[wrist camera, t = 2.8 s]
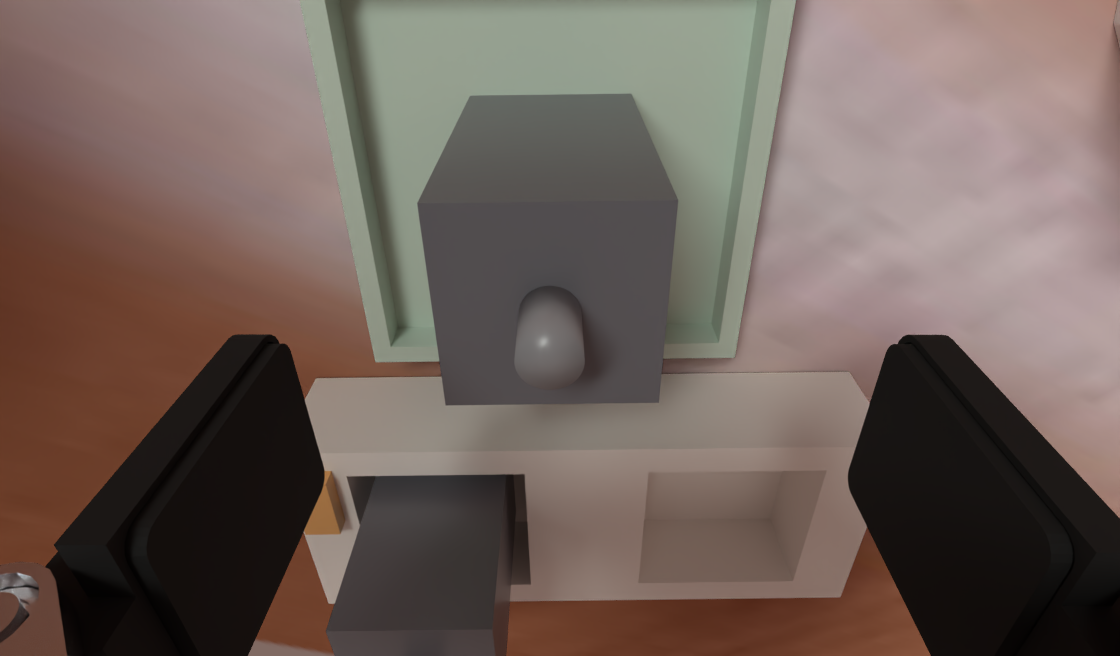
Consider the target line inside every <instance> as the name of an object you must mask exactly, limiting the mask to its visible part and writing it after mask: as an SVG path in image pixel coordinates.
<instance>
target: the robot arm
mask: <svg viewBox="0 0 1120 656" xmlns="http://www.w3.org/2000/svg"><path fill="white" fill-rule="evenodd" d="M324 479H325V471H324V466H323V462H322V459H321V455H320V452H319V448H318V445H317V441H316V438H315V434H314V431H313V427H312V424H311V420H310V417H309V413H308V410H307V407H306V403H305V400H304V396H303V393H302V389H301V386H300V382H299V379H298V375H297V372H296V368H295V365H294V361H293V358H292V354H291V351H290V349H289V347H288V346H287V345H286V344H279V341H278V340H277V338H276V337H275V336H273V335H233V336H231V337H230V338H229V339H228V340H227V341H226V342H225V344H224V345H223V346H222V347H221V348H220V350H219V351H218V352H217V353H216V354H215V355H214V357H213V358H212V359H211V360H210V361H209V363H208V364H207V365H206V366H205V367H204V368H203V370H202V371H201V372H200V373H199V374H198V375H197V377H196V378H195V379H194V380H193V381H192V383H191V384H190V385H189V386H188V387H187V388H186V390H185V391H184V392H183V393H182V394H181V396H180V397H179V398H178V399H177V400H176V401H175V403H174V404H173V405H172V406H171V407H170V409H169V410H168V411H167V412H166V413H165V414H164V416H163V417H162V418H161V419H160V420H159V421H158V423H157V424H156V425H155V426H154V427H153V429H152V430H151V431H150V432H149V433H148V434H147V436H146V437H145V438H144V439H143V440H142V442H141V443H140V444H139V445H138V446H137V447H136V449H135V450H134V451H133V452H132V453H131V455H130V456H129V457H128V458H127V459H126V460H125V462H124V463H123V464H122V465H121V466H120V467H119V469H118V470H117V471H116V472H115V473H114V475H113V476H112V477H111V478H110V479H109V480H108V482H107V483H106V484H105V485H104V486H103V488H102V489H101V490H100V491H99V492H98V493H97V495H96V496H95V497H94V498H93V499H92V501H91V502H90V503H89V504H88V505H87V506H86V508H85V509H84V510H83V511H82V512H81V513H80V515H79V516H78V517H77V518H76V519H75V521H74V522H73V523H72V524H71V525H70V526H69V528H68V529H67V530H66V531H65V532H64V534H63V535H62V536H61V537H60V538H59V539H58V541H57V542H56V543H55V544H54V546H55V547H56V549H57V550H58V552H57V553H56V555H55V556H54V557H53V558H52V559H51V561H50V562H49V563H48V564H47V565H46V567H44V566H42V565H40V564H38V563H29V562H15V563H9V564H3V565H0V656H248V654H249V652H250V650H251V647H252V645H253V643H254V641H255V639H256V636H257V634H258V632H259V630H260V627H261V625H262V623H263V621H264V619H265V616H266V614H267V612H268V610H269V607H270V605H271V603H272V601H273V598H274V596H275V594H276V592H277V590H278V587H279V585H280V583H281V581H282V578H283V576H284V574H285V572H286V570H287V567H288V565H289V563H290V561H291V558H292V556H293V554H294V552H295V550H296V547H297V545H298V543H299V541H300V538H301V536H302V534H303V532H304V530H305V527H306V525H307V523H308V521H309V518H310V516H311V514H312V512H313V510H314V507H315V505H316V503H317V501H318V498H319V496H320V494H321V492H322V489H323V485H324ZM848 486H849V490H850V493H851V495H852V497H853V499H854V501H855V503H856V505H857V507H858V509H859V511H860V513H861V515H862V517H863V519H864V521H865V523H866V525H867V527H868V529H869V531H870V533H871V535H872V537H873V539H874V542H875V544H876V546H877V548H878V550H879V552H880V554H881V556H882V558H883V560H884V562H885V564H886V566H887V568H888V570H889V572H890V574H891V576H892V578H893V580H894V582H895V584H896V586H897V588H898V590H899V592H900V594H901V596H902V598H903V600H904V602H905V604H906V606H907V608H908V610H909V612H910V614H911V616H912V618H913V620H914V622H915V624H916V626H917V628H918V630H919V632H920V634H921V636H922V638H923V640H924V642H925V645H926V647H927V649H928V651H929V653H930V655H931V656H1120V518H1119V517H1118V516H1117V515H1116V514H1115V513H1114V512H1113V511H1112V510H1111V509H1110V508H1109V507H1108V506H1107V504H1106V503H1105V502H1104V501H1103V500H1102V499H1101V498H1100V497H1099V496H1098V495H1097V494H1096V493H1095V492H1094V491H1093V489H1092V488H1091V487H1090V486H1089V485H1088V484H1087V483H1086V482H1085V481H1084V480H1083V479H1082V478H1081V477H1080V476H1079V474H1078V473H1077V472H1076V471H1075V470H1074V469H1073V468H1072V467H1071V466H1070V465H1069V464H1068V463H1067V462H1066V461H1065V459H1064V458H1063V457H1062V456H1061V455H1060V454H1059V453H1058V452H1057V451H1056V450H1055V449H1054V448H1053V447H1052V446H1051V444H1050V443H1049V442H1048V441H1047V440H1046V439H1045V438H1044V437H1043V436H1042V435H1041V434H1040V433H1039V432H1038V431H1037V429H1036V428H1035V427H1034V426H1033V425H1032V424H1031V423H1030V422H1029V421H1028V420H1027V419H1026V418H1025V417H1024V416H1023V414H1022V413H1021V412H1020V411H1019V410H1018V409H1017V408H1016V407H1015V406H1014V405H1013V404H1012V403H1011V402H1010V401H1009V399H1008V398H1007V397H1006V396H1005V395H1004V394H1003V393H1002V392H1001V391H1000V390H999V389H998V388H997V387H996V386H995V384H994V383H993V382H992V381H991V380H990V379H989V378H988V377H987V376H986V375H985V374H984V373H983V372H982V371H981V369H980V368H979V367H978V366H977V365H976V364H975V363H974V362H973V361H972V360H971V359H970V358H969V357H968V355H967V354H966V353H965V352H964V351H963V350H962V349H961V348H960V347H959V346H958V345H957V344H956V343H955V342H954V340H953V339H951V338H950V337H949V336H946V335H906V336H904V337H902V338H901V340H900V341H899V343H898V344H893V345H891V346H890V347H889V348H888V350H887V352H886V355H885V358H884V361H883V364H882V367H881V370H880V373H879V376H878V380H877V383H876V386H875V389H874V392H873V395H872V398H871V401H870V404H869V408H868V411H867V414H866V417H865V420H864V423H863V426H862V429H861V433H860V436H859V439H858V442H857V445H856V448H855V451H854V454H853V458H852V461H851V464H850V467H849V471H848Z"/></svg>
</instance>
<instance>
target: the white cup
mask: <svg viewBox="0 0 1120 656" xmlns="http://www.w3.org/2000/svg"><path fill="white" fill-rule="evenodd" d="M1114 27H1115V31H1116V35H1117V39H1118V44H1119V48H1120V0H1118V3H1117V8H1116V13H1115V18H1114Z"/></svg>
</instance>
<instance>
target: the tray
mask: <svg viewBox="0 0 1120 656" xmlns="http://www.w3.org/2000/svg"><path fill="white" fill-rule="evenodd" d="M795 3H796V0H300V4H301V9H302V14H303V18H304V23H305V28H306V33H307V38H308V42H309V47H310V52H311V57H312V61H313V66H314V71H315V76H316V81H317V85H318V90H319V95H320V100H321V104H322V109H323V114H324V119H325V124H326V128H327V133H328V138H329V143H330V147H331V152H332V157H333V162H334V167H335V171H336V176H337V181H338V186H339V190H340V195H341V200H342V205H343V210H344V214H345V219H346V224H347V229H348V233H349V238H350V243H351V248H352V253H353V257H354V262H355V267H356V272H357V276H358V281H359V286H360V291H361V296H362V300H363V305H364V310H365V315H366V319H367V324H368V329H369V334H370V339H371V343H372V348H373V353H374V358H375V362H434V361H439V355H438V348H437V341H436V334H435V327H434V320H433V313H432V305H431V298H430V291H429V284H428V277H427V270H426V263H425V256H424V249H423V242H422V235H421V228H420V221H419V213H418V206H417V202H418V200H419V198H420V196H421V194H422V192H423V190H424V188H425V186H426V184H427V182H428V180H429V178H430V176H431V174H432V172H433V170H434V168H435V166H436V164H437V162H438V160H439V158H440V156H441V154H442V152H443V150H444V147H445V145H446V143H447V141H448V139H449V137H450V135H451V133H452V131H453V129H454V127H455V125H456V123H457V121H458V119H459V117H460V115H461V113H462V111H463V109H464V107H465V105H466V103H467V101H468V99H469V97H470V96H478V95H557V94H632V96H633V99H634V101H635V103H636V105H637V108H638V110H639V112H640V115H641V117H642V119H643V121H644V124H645V126H646V128H647V130H648V133H649V135H650V137H651V139H652V142H653V144H654V146H655V148H656V151H657V153H658V155H659V157H660V160H661V162H662V164H663V167H664V169H665V171H666V173H667V176H668V178H669V180H670V182H671V185H672V187H673V189H674V191H675V194H676V196H677V198H678V209H677V219H676V230H675V240H674V250H673V261H672V271H671V282H670V292H669V303H668V313H667V323H666V334H665V344H664V355H663V359H676V358H735V353H736V347H737V341H738V335H739V329H740V324H741V318H742V312H743V306H744V300H745V294H746V289H747V283H748V277H749V271H750V265H751V259H752V254H753V248H754V242H755V236H756V230H757V225H758V219H759V213H760V207H761V201H762V195H763V190H764V184H765V178H766V172H767V166H768V160H769V155H770V149H771V143H772V137H773V131H774V125H775V120H776V114H777V108H778V102H779V96H780V90H781V85H782V79H783V73H784V67H785V61H786V56H787V50H788V44H789V38H790V32H791V26H792V21H793V15H794V9H795Z"/></svg>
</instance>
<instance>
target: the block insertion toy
mask: <svg viewBox="0 0 1120 656" xmlns="http://www.w3.org/2000/svg"><path fill="white" fill-rule="evenodd" d="M305 403H306V407H307V410H308V413H309V417H310V420H311V424H312V427H313V431H314V434H315V438H316V441H317V445H318V448H319V452H320V455H321V459H322V462H323V466H324V471H325V479H324V485H323V489H322V492H321V494H320V496H319V498H318V501H317V503H316V505H315V507H314V510H313V512H312V514H311V516H310V518H309V521H308V523H307V525H306V527H305V530H304V534H305V537H306V540H307V543H308V546H309V549H310V552H311V554H312V557H313V560H314V563H315V566H316V569H317V572H318V575H319V577H320V580H321V583H322V586H323V589H324V592H325V595H326V597H327V600H328V603H329V604H335V605H334V608H333V611H332V614H331V617H330V620H329V623H328V626H327V629H326V633H327V636H328V639H329V641H330V644H331V647H332V650H333V652H334V655H335V656H506V651H507V636H508V621H509V606H510V601H585V600H667V599H749V598H831V597H841V594H842V592H843V589H844V586H845V584H846V581H847V578H848V576H849V573H850V571H851V568H852V565H853V563H854V560H855V557H856V555H857V552H858V549H859V547H860V544H861V542H862V539H863V536H864V534H865V531H866V528H867V525H866V523H865V521H864V519H863V517H862V515H861V513H860V511H859V509H858V507H857V505H856V503H855V501H854V499H853V497H852V495H851V493H850V490H849V486H848V471H849V467H850V464H851V461H852V458H853V454H854V451H855V448H856V445H857V442H858V439H859V436H860V433H861V429H862V426H863V423H864V420H865V417H866V414H867V411H868V408H869V404H870V403H869V402H868V400H867V398H866V397H865V395H864V394H863V392H862V391H861V389H860V388H859V386H858V385H857V383H856V382H855V380H854V379H853V377H852V376H851V374H850V372H778V373H697V374H662V375H661V386H660V396H659V403H601V404H520V405H445V398H444V390H443V383H442V377H374V378H316V379H315V381H314V383H313V385H312V387H311V389H310V391H309V393H308V395H307V397H306V398H305Z"/></svg>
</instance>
